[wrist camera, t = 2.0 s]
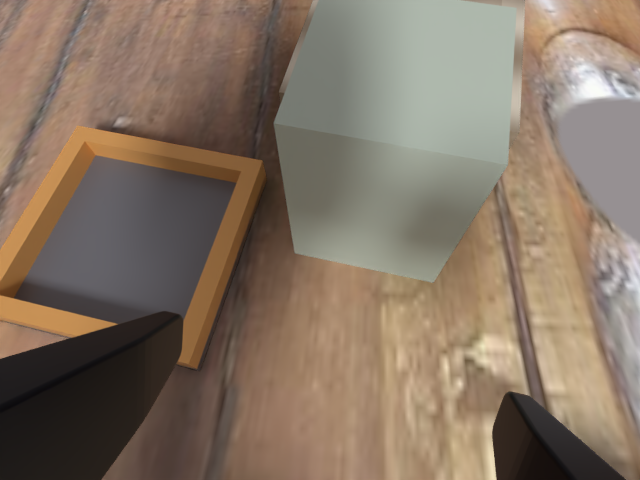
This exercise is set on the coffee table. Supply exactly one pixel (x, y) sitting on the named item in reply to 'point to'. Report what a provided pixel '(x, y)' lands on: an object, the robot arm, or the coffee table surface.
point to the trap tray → (130, 238)
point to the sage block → (395, 129)
